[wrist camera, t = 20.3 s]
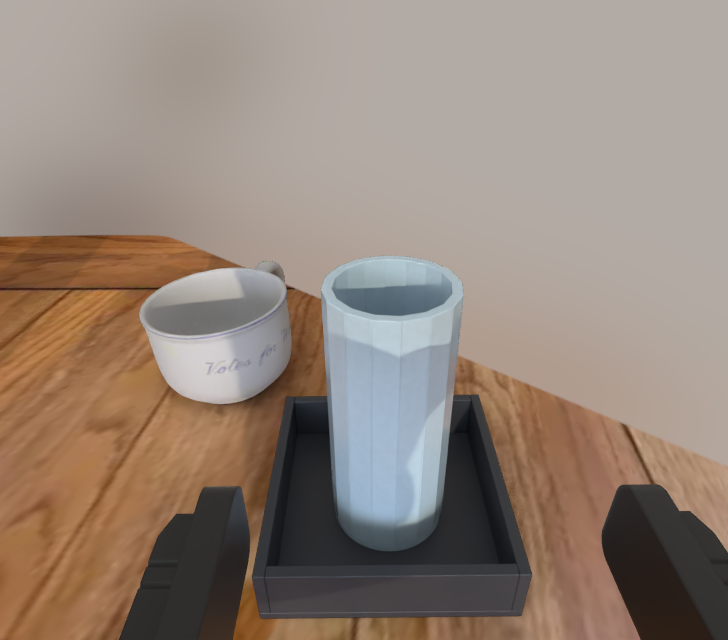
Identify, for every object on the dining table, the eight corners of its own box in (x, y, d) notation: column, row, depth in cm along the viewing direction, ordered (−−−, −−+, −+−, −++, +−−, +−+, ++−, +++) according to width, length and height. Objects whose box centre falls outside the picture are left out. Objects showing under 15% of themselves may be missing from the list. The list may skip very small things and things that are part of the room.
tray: (259, 619, 26) (251, 577, 24) (290, 434, 38) (286, 396, 36) (521, 616, 26) (532, 574, 24) (473, 431, 38) (478, 394, 36)
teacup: (226, 445, 37) (207, 351, 32) (132, 390, 42) (106, 304, 38) (343, 351, 46) (340, 269, 42) (255, 316, 52) (245, 241, 48)
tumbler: (314, 522, 30) (293, 298, 23) (366, 451, 35) (364, 246, 27) (414, 571, 28) (429, 336, 20) (456, 487, 33) (482, 271, 25)
